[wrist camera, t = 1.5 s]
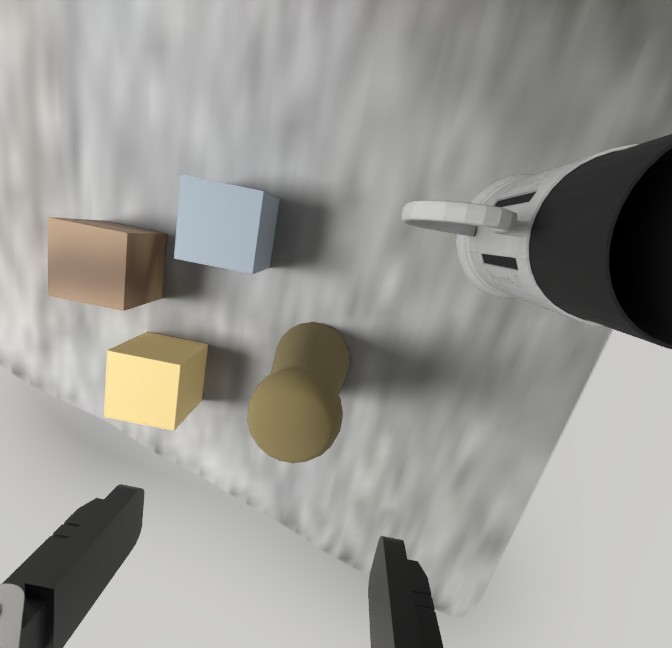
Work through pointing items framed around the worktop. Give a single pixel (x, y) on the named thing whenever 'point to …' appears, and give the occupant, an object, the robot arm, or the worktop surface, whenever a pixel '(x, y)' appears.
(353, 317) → the worktop surface
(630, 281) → the glass holder
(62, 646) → the robot arm
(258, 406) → the cork
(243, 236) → the slate block
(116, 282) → the walnut block
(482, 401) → the worktop surface
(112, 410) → the mustard block
